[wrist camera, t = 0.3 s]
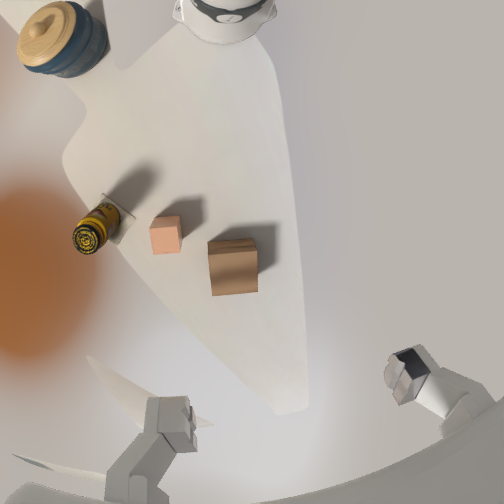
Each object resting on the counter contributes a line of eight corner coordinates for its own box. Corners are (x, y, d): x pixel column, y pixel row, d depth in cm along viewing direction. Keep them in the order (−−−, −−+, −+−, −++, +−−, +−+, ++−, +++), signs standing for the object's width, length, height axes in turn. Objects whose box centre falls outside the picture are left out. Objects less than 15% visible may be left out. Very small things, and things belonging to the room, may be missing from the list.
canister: (116, 16, 34) (82, -18, 18) (101, 76, 39) (58, 62, 24) (59, 24, 31) (14, 1, 16) (46, 81, 37) (-7, 76, 21)
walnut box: (207, 241, 57) (207, 255, 52) (252, 238, 58) (257, 250, 53) (211, 280, 61) (212, 296, 56) (253, 276, 62) (257, 291, 57)
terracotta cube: (154, 217, 53) (149, 228, 48) (179, 215, 54) (176, 226, 48) (158, 241, 55) (153, 254, 50) (182, 239, 56) (180, 252, 51)
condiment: (102, 193, 49) (78, 213, 39) (135, 218, 53) (119, 243, 42) (85, 221, 51) (61, 246, 40) (117, 245, 54) (99, 274, 44)
